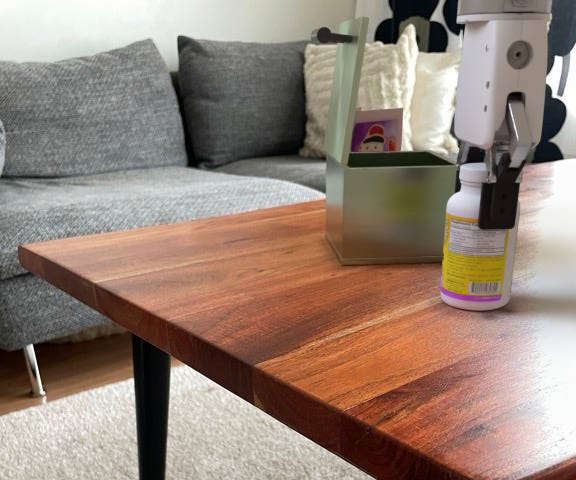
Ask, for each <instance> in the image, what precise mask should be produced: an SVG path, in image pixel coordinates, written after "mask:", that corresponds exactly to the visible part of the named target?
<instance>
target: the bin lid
mask: <svg viewBox="0 0 576 480" xmlns="http://www.w3.org/2000/svg"><path fill="white" fill-rule="evenodd" d="M369 23H370V17H369V16H359V17H356V18H352V19H348V20H345V21H342V22H340V23H339V31H338V33H336V32H332V30H331V29H330V28H329V27H327V26H322V27H318V28H315V29H313V30H312V31H311V33H310V41H311V42H312V43H313V44H314V45H325V44H329V42H330V43H337V45H336V51H335V58H334V59H335V60H334V67H333V74H332V81H331V82H332V83H331V90H330V96H329V103H328V111H327V118H326V125H325V134H324V141H323V149H324V150H325V151H326V153H327V152H328V153H329V154H331V155H332V156H333V157H334V158H335V159H336V160H337V161H338V162H339V163H340V164H346V165H347V164H348V158H349V151H350V144H351V137H352V131H353V124H354V117H355V111H356V108H357V105H358V104H357V103H358V96H359V89H360V85H361V84H360V83H361V76H362V70H363V63H364V57H365V51H366V50H365V49H366V43H367V37H368V29H369Z"/></svg>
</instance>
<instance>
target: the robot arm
mask: <svg viewBox="0 0 576 480" xmlns="http://www.w3.org/2000/svg"><path fill="white" fill-rule="evenodd" d="M552 7H553V0H457V12H456V24H460V25H465V26H464V33H463V39H462V45H461V53H460V58H459V59H460V60H459V65H458V66H459V67H458V75H457V77H458V78H457V84H456V93H455V101H454V103H455V104H454V122H453V123H454V125H453V128H454V134H455V137H457V139H458V141H457V143H458V144H457V148H458V153H457V157H456V161H455V162H456V166H457V169H460V167H461V165H464V164H469V163H486V179H487V182H482V186H481V196H480V206H479V216H478V227H479V228H480V229H482V230H498V229H512V228H514V226H515V221H516V213H517V205H518V200H519V195H520V187H521V183H522V181H523V176H524V171H523V170H524V167H525V165H526V163H527V157H528V154H529V153H530V151H531V149H534V148H536V147H537V146H538V145H539V144H540V141H541V138H542V132H543V131H542V130H543V121H544V110H545V101H546V100H545V99H546V87H547V74H548V51H549V49H548V22H549V23H550V21H551V14H552ZM497 156H501V157H500V159H499V161H498V162H497ZM497 163H498V164H497ZM459 176H460V170H456V181H455V193H454V194H456V193H458V192H460V190H461V185H462V183H461V182H460V179H459Z"/></svg>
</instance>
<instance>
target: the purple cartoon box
mask: <svg viewBox="0 0 576 480" xmlns="http://www.w3.org/2000/svg"><path fill="white" fill-rule="evenodd" d="M403 123H404V107H396V108H395V107H394V108H380V109H369V110H367V109H366V110H362V106H359V107H356V111H355V117H354V124H353V131H352V137H351V144H350V151H349V152H370V151H402V144H403Z"/></svg>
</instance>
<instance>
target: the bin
mask: <svg viewBox="0 0 576 480" xmlns="http://www.w3.org/2000/svg"><path fill="white" fill-rule="evenodd" d="M325 156H326V158H325V223H324V224H325V229H324V230H325V232H324V233H325V234H324V235H325V239H326V240H327V243H328V244H329V245H330V247H331V249H332V250H333V252H334V254H335V256H336V258H337V260H338V261H339V263H340V265H341V266H364V265H365V266H366V265H395V264H400V265H401V264H431V263H442V262H443V248H444V235H445V221H446V207H447V203H448V200H449V199H450V197H451V196H453V195H454V193H455V181H456V170H460V169H457V166H456V162H457V161H455V160H453V159H451V158H449V157H448V156H445V155H442V154H440V153H438V152H436V151H433V150H432V149H431V150H430V149H427V150H424V149H423V150H401V151H370V152H349V158H348V164H347V165H346V164H340V163H339V162H338V161H337V160H336V159H335V158H334V157H333V156H332V155H331V154H329V153H328V152H327V151H326V154H325Z"/></svg>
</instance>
